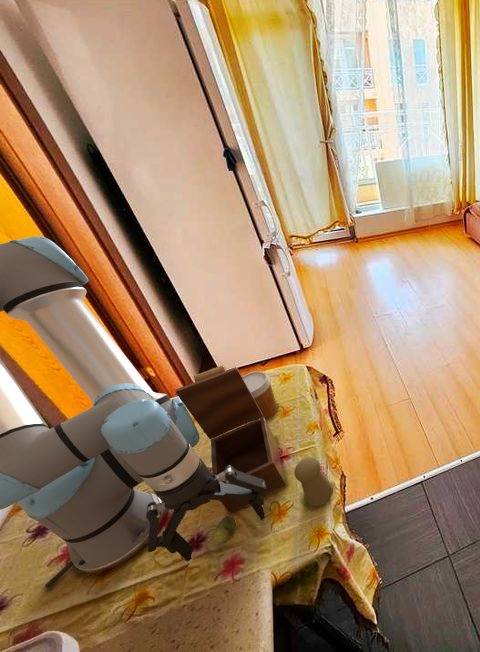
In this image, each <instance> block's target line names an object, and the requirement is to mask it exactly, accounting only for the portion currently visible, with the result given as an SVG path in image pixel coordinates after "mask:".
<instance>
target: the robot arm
mask: <svg viewBox="0 0 480 652" xmlns="http://www.w3.org/2000/svg"><path fill="white" fill-rule="evenodd" d="M87 283H89V278H88V276H87V274H85V273H84V271H83V270H82V269H81V268H80V267H79V266H78V265H77V264H76V262H75V261H74V260H73V259H72V258H71V257H70V256H69V255H68V254H67V253H66V252H65V251H64V250H63V249H62V248H61V247H60V246H59V245H57V244H56V243H55V242H53V241H52V240H51V239H49V238H47V237H44V236H37V235H36V236H31V237H25V238H21V239H11V240H9V241H7V242H4V243H3V242H2V243H0V313H1V312H4V313H6V315H7V317H8V318H10V319H14V320H20V321H26V322H27V323H28V325H29V326H30V327H31V329H32V330H33V331H34V332H35V333H36V334H37V336H38V337H39V338H40V340H41V341H42V342H43V343H44V344H45V346H46V347H47V348H48V349H49V351H50V352H51V353H52V355H53V356H54V357H55V358H56V359H57V360H58V362H59V363H60V364H61V365H62V367H63V368H64V369H65V370H66V372H67V373H68V374H69V376H70V377H71V378H72V379H73V380H74V381H75V383H76V384H77V385H78V387H80V389H81V390H82V391H83V393H84V394H85V395H86V396H87V397H88V399H89V400H90V401H91V402H92V407H90V408H88V409H85V410H84V411H82V412H80V413H78V414H76V415H75V416H73V417H70V418H69V419H66V420H64V421H63V422H61V423H59V424H57V425H55V426H53V427H51V428H49V425H48V424H47V422H46V421H45V419H44V418H43V417H42V415H41V413H40V412H39V411H38V409H37V408H36V407H35V405H34V404H33V403H32V401H31V399H30V398H29V397H28V395H27V394H26V392H25V390H24V389H23V388H22V387H21V385H20V384H19V382H18V381H17V380H16V378H15V377H14V376H13V374H12V372H11V371H10V370H9V368H8V367H7V365H6V364H5V362H4V361H3V360H2V358H1V357H0V510H4V509H6V508H9V507H10V506H12V505H14V504H17V505H18V506H19V507H20V508H21V509H22V510H23V511H24V512H25V513H26V515H27V516H28V517H29V518H30V519H32V520H35V521H36V522H38V523H39V524H40V525H42V526H43V527H44V528H46V529H47V530H49V531H50V532H51V533H53V534H54V535H55V536H56V537H58V538H60V539H61V540H63V541H64V542H65V544H66V547H67V550H68V555H69V558H70V561H69V563H67V564H66V565H65V566H64V567H63V568H62V569H61V570H59V572H57V573H56V574H55V575H54V576H53V577H52V578H51V579H50V580H49V581H48V582H46V583H45V585H44V586H45V588H47V589H48V588H51V587H52V586H53V585H54V584H55V583H56V582H57V581H58V580H59V579H60V578H61V577H62V576H63V575H64V574H65V573H66V572H67V571H69V570H70V569H71V568H72V567H73V566H74V567H75V568H77V569H78V570H79V571H81V572H83V573H86V574H99V573H104V572H107V571H109V570H111V569H114V568H117V567H118V566H120V565H122V564H123V563H125V562H127V561H128V560H130V559H131V558H132V557H134V556H135V555H137V553H139V552H140V551H141V550H143V548H144V547H145V546H146V545H147V552H148V553H152V552H155V551H156V549H157V548H164V549H165V550H167V551H168V553H170V554H176V553H178V554H179V555H180V556H181V557H182V558H183V560H185V561H186V562H190V561H191V560H192V559H193V546H192V545H190V543H189V542H188V541H187V540H186V539H185V538H184V537H183V536H182V535H181V534H180V533H179V532H178V528H179V526H180V524H181V522H182V520H183V519H184V517H185V515H186V513H187V512H189V511H191V512H192V511H195V510H196V509H198V508H200V507H201V506H204V505H206V504H208V503H210V502H211V501H219V500H221V499H222V498H225V499H244V500H249V504H250V505H249V506H250V507H251V508H252V510H253V511H254V512H255V514H256V515H257V517H258V518H259V519H260V521H263V520H265V519H266V515H265V514H266V513H265V509H264V504H265V500H264V497H262V495H261V493H264V492H266V484H265V480H263V479H260V478H257V477H255V476H252V475H249V474H246V473H243V472H240V471H237V470H235V469H234V468H233V467H232V466H231V465H228V466H226V467H225V471H223V472H221V473H220V474H218V475H214V474H212V471H210V469H209V468H208V467H207V465H206V464H205V462H204V461H203V459H201V458H200V456H199V454H198V453H197V452H196V451H195V449H194V447H196V445H198V444H199V442H200V439H201V437H200V436H201V435H200V432H199V430H198V428H197V426H196V424H195V422H194V420H193V418H192V415H191V413H190V412H189V410H188V409H187V408H186V406H185V405H184V403H183V402H182V401H181V399H180V398H179V397H173V398H172V399H171V398H170V397H169V396H168V394H167V393H160V392H155V391H153V389H152V388H151V386H150V385H149V384H148V383H147V381H145V379H144V378H143V377H142V375H141V374H140V372H139V371H138V370H137V368H136V367H135V366H134V364H133V363H132V362H131V361H130V360H129V358H128V357H127V355H125V353H124V352H123V350H122V349H121V348H120V347H119V346H118V344H117V343H116V342H115V340H114V338H113V337H112V336H111V335H110V333H109V332H108V331H107V330H106V328H105V327H104V326H103V325H102V323H101V322H100V321H99V319H97V317H96V316H95V314H94V313H93V312H92V310H91V309H90V308H89V306H87V304H86V303H85V302H84V299H85V297H86V295H87V293H88V291H87V289H86V288H85V287H84V285H86V284H87ZM220 481H225V482H226V483H229V482H230V483H231V484H225V483H224V482H220ZM143 482H145V484H147V486H148V487H149V488H150V489H151V490H152V491H153V492H154V493H152V492H146V491H143V490H141V489H137V488H135V487H137V486H139V485H140V484H141V483H143ZM216 489H217V493H215V492H216ZM166 509H167V510H171V511H172V514H171V515H170V517H169V520H168V522H167V524H166V526H165V528H164V530H163V531H162V533H161V535H159V529H160V528H161V526H162V524H163V521H164V519H165V516H166Z"/></svg>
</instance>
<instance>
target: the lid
mask: <svg viewBox="0 0 480 652" xmlns="http://www.w3.org/2000/svg"><path fill="white" fill-rule="evenodd" d="M242 376H243V375H242V374H241V372H240V370H239V369H238V367H237V366H235V367H232V368H229V369H227V368H226V365H224V364H222V365H219V366H217V367H214V368H211V369H208V370H206V371H203V372H200V373H198V374H194V375H193V379H194V381H193V382H192V383H189V384H186V385H184V386H182V387H178V388H175V389H174V392H175V394H176V395H177V396H178V397H177V398H180V399H181V401H182V403H183V404H184V406H185V407H186V409H187V411H188V412H189V414H190V415H191V417H193V418H194V420H195V421H196V423H197V424H198V425H199V427H200V428H201V429H202V431H203V432H204V434H205V436H206V437H207V438H208V439H209V440H211V439H213V438H216V437H218V436H220V435H223V434H225V433H227V432H229V431H232V430H234V429H236V428H239V427H241V426H243V425H245V424H248V423H250V422H252V421H255V420H256V419H258V418H260V417H262V416H263V414H262V412H261V410H260V408H259V407H258V405H257V403H256V401H255V399H254V398H253V396H252V394H251V392H250V390H249V389H248V387H247V385H246V383H245V381H244V380H243V378H242Z"/></svg>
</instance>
